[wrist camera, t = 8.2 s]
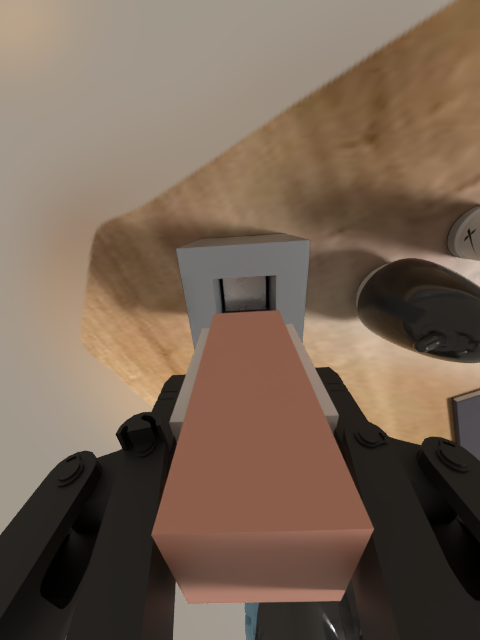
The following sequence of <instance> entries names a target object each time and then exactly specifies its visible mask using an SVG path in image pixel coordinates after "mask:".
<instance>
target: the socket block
mask: <svg viewBox="0 0 480 640" xmlns="http://www.w3.org/2000/svg"><path fill="white" fill-rule="evenodd" d="M176 252H177V257H178V263H179V268H180V274H181V279H182V285H183V290H184V296H185V301H186V306H187V312H188V317H189V323H190V328H191V334H192V339H193V345H194V350H195V348H196V345H197V342H198V339H199V337H200V334H201V331H202V329H205V328H210V326H211V322H212V319H213V315H214V314H219V313H237V312H255V311H273V310H279V312H280V314H281V316H282V318H283V321H284V323H285V324H293V326H294V328H295V330H296V332H297V334H298V336H299V338H300V340H301V342H303V329H304V316H305V303H306V290H307V278H308V265H309V252H310V240H308V239H304V238H300V237H296V236H292V235H288V234H269V235H253V236H238V237H223V238H208V239H199V240H196V241H194V242H191V243H189V244H186V245H184V246H181V247H179V248H176ZM255 276H266V309H259V310H241V311H226V308H225V297H224V287H223V278H239V277H255Z"/></svg>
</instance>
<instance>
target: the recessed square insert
mask: <svg viewBox="0 0 480 640" xmlns="http://www.w3.org/2000/svg"><path fill="white" fill-rule="evenodd" d="M223 287H224V297H225V308H226V311H241V310H259V309H266V276H255V277H239V278H223Z"/></svg>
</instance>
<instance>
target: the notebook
mask: <svg viewBox="0 0 480 640" xmlns="http://www.w3.org/2000/svg"><path fill="white" fill-rule="evenodd" d="M452 406H453V416H454V426H455V435H456V444H458V445H460V446H462V447H463V448H465V449H466V450H467V451H469V452H470V453H471V454H472V455H474V456H475V457H476V458H477V459H478V460H479V461H480V390H479V391H476V392H473V393H469V394H466V395H463V396H460V397H456V398H452Z"/></svg>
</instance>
